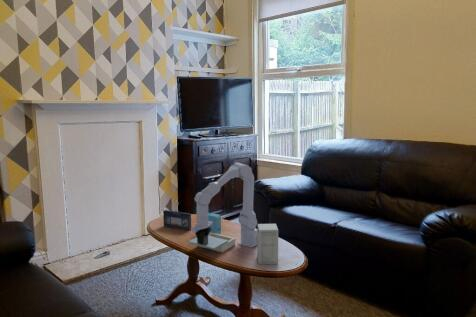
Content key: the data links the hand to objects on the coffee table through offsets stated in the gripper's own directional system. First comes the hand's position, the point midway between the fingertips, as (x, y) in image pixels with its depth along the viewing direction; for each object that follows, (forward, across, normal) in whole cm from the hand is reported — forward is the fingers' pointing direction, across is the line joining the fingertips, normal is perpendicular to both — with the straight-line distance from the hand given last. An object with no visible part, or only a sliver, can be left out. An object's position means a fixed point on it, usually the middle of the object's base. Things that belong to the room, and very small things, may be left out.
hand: (202, 242), depth 188 cm
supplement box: (+6, -10, +31) cm, 33 cm away
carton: (+5, -12, 0) cm, 13 cm away
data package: (+6, -24, -13) cm, 27 cm away
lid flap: (+1, -4, 0) cm, 5 cm away
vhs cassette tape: (+6, -22, -36) cm, 42 cm away
